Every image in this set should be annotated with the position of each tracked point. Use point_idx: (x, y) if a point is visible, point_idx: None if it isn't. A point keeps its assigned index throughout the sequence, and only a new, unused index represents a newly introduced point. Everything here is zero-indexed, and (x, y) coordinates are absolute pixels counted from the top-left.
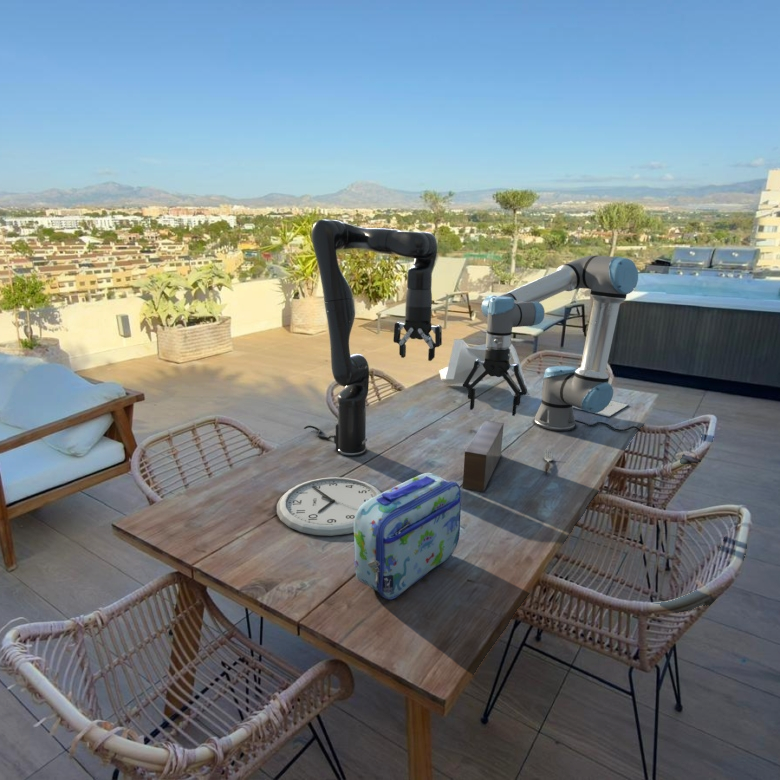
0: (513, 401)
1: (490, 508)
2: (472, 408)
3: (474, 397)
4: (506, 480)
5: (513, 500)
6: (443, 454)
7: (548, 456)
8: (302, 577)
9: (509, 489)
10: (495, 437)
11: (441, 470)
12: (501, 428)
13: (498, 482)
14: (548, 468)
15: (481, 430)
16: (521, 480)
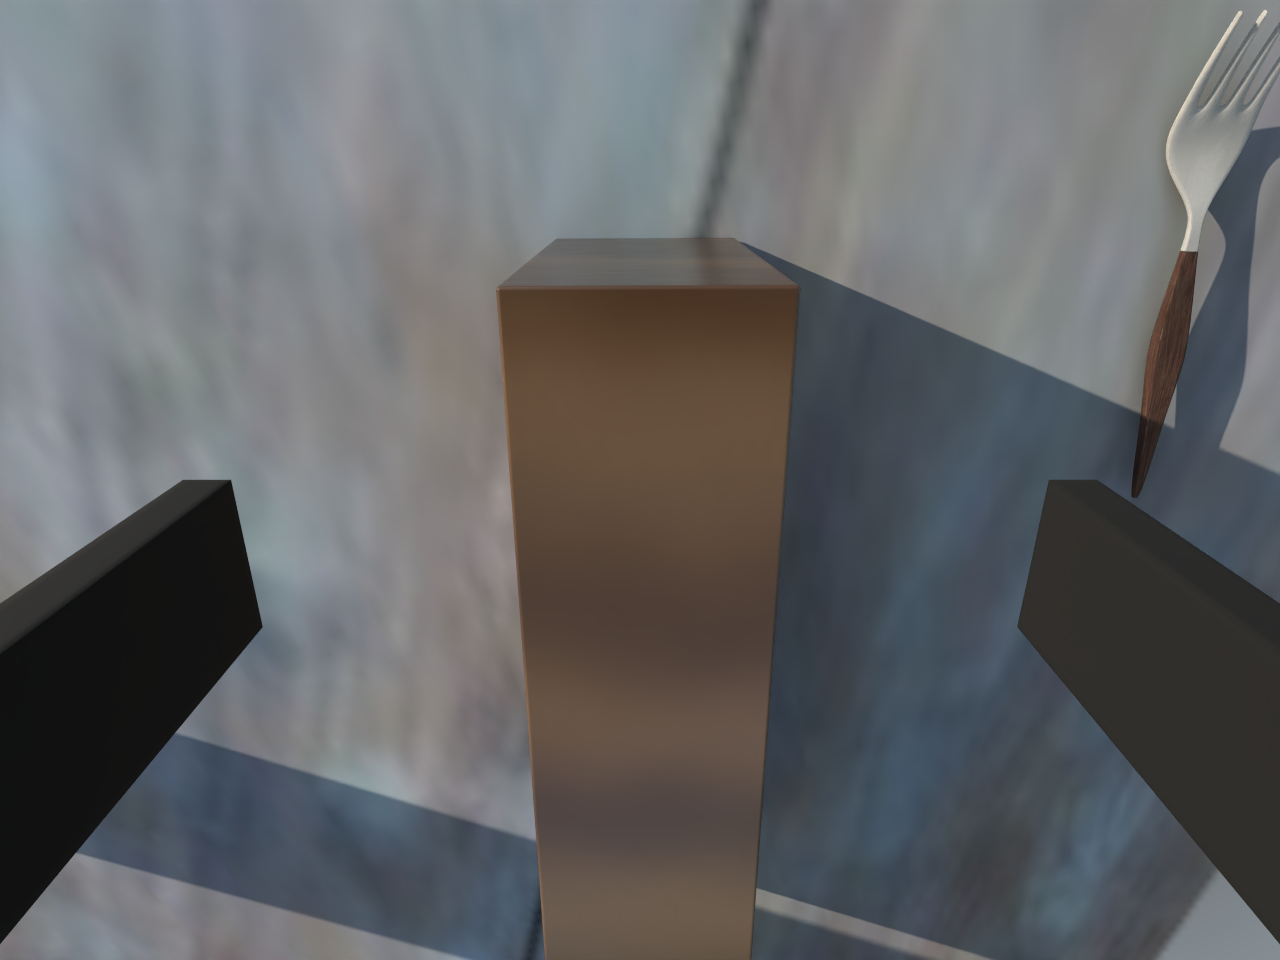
0: (1212, 858)
1: (777, 956)
2: (247, 619)
3: (85, 631)
4: (831, 658)
5: (891, 856)
6: (252, 427)
7: (1220, 101)
8: None
9: (860, 758)
10: (758, 792)
11: (370, 687)
12: (785, 457)
13: (781, 702)
14: (1172, 388)
15: (558, 668)
16: (935, 621)
